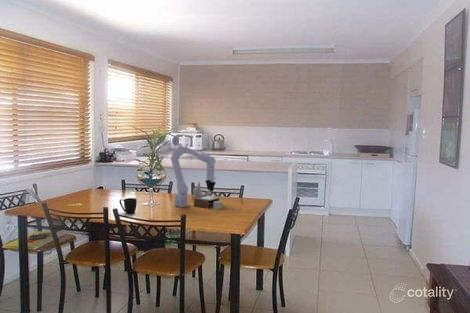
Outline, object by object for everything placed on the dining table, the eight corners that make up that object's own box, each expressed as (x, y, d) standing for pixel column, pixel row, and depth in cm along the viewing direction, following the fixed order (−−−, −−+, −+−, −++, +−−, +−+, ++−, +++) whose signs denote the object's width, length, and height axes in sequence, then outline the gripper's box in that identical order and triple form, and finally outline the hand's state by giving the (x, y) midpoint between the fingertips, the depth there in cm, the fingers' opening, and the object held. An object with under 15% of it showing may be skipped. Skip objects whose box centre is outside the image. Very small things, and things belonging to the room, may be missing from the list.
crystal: (207, 201, 314) (207, 182, 313) (191, 201, 316) (191, 181, 315) (210, 199, 324) (210, 180, 322) (194, 198, 326) (194, 180, 325)
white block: (218, 209, 287) (218, 202, 286) (213, 208, 289) (213, 201, 289) (222, 208, 291) (222, 201, 290) (216, 207, 293) (216, 200, 293)
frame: (207, 208, 291) (207, 200, 290) (194, 206, 297) (194, 198, 296) (219, 204, 304) (219, 197, 304) (205, 202, 310) (205, 195, 310)
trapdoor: (209, 200, 292) (209, 197, 291) (196, 198, 298) (196, 196, 297) (218, 198, 302) (218, 195, 302) (205, 196, 308) (205, 193, 308)
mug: (123, 211, 278) (123, 197, 277) (139, 212, 274) (139, 198, 274) (116, 213, 270) (116, 199, 269) (132, 215, 266) (132, 200, 266)
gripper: (218, 173, 299) (217, 191, 301) (213, 171, 313) (213, 188, 314) (208, 173, 297) (208, 192, 299) (204, 171, 311) (204, 189, 312)
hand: (210, 190), depth 306 cm, fingers open, 7 cm apart
